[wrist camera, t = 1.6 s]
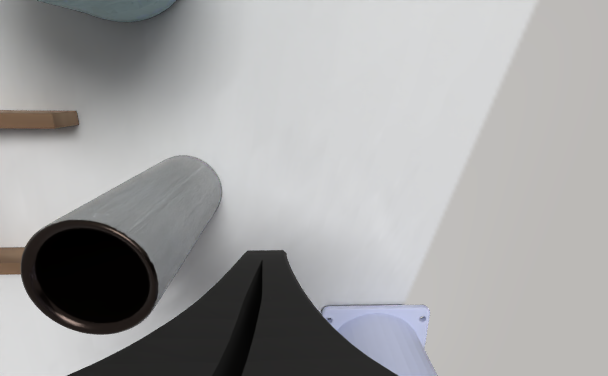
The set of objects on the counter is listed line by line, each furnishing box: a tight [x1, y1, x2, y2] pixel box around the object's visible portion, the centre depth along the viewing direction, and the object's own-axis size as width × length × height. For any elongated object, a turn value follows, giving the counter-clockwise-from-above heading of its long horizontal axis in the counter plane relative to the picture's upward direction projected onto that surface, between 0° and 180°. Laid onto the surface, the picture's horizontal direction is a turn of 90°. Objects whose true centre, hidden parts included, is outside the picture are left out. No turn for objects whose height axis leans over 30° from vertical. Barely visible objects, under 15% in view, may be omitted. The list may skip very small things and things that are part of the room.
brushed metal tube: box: [20, 156, 222, 335], centre depth 15 cm, size 4×4×10 cm
